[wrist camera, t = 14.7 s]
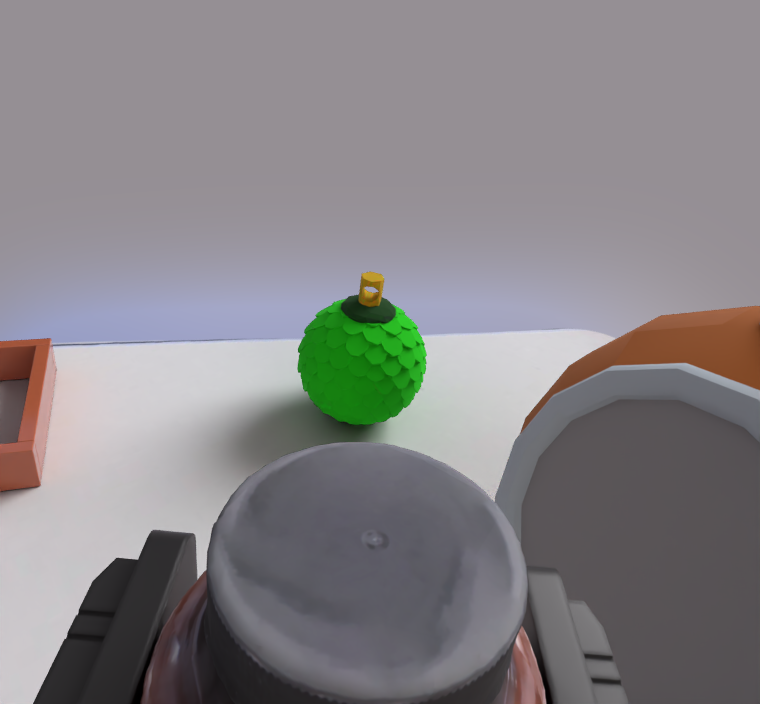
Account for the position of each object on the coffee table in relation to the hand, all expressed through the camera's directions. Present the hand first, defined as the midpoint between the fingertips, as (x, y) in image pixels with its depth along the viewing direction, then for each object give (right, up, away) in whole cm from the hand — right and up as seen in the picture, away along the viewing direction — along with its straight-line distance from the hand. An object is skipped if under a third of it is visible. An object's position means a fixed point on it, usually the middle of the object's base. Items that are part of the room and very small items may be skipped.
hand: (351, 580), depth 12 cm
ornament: (-1, 0, +30) cm, 30 cm away
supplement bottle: (-1, -8, +2) cm, 8 cm away
